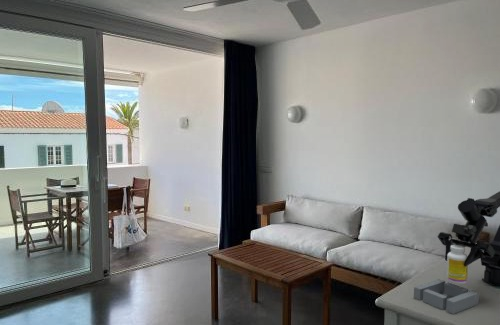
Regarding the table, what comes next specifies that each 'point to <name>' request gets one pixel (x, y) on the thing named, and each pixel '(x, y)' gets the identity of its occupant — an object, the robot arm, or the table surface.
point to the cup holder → (452, 305)
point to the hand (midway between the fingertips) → (455, 263)
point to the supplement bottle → (456, 265)
